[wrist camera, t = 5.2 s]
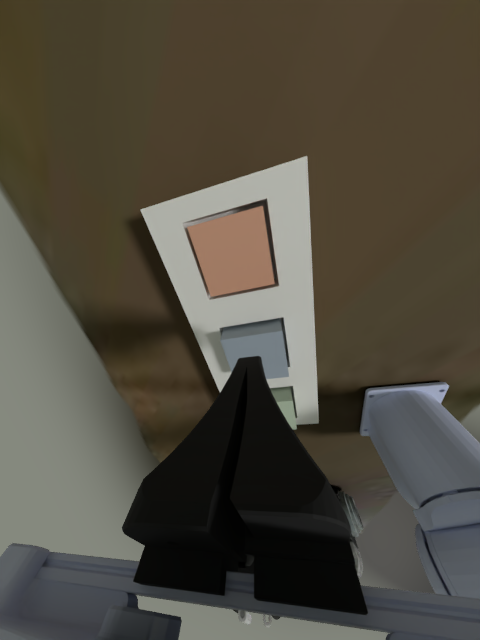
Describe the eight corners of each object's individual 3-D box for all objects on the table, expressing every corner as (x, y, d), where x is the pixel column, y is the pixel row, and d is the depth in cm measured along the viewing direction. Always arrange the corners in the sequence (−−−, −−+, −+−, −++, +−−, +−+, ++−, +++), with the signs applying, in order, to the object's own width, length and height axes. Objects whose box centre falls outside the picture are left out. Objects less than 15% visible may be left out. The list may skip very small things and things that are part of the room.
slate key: (285, 360, 17) (289, 376, 15) (237, 366, 18) (235, 382, 16) (279, 317, 15) (282, 330, 13) (224, 326, 16) (220, 340, 14)
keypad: (312, 401, 23) (318, 423, 20) (237, 407, 25) (235, 428, 22) (296, 168, 12) (307, 155, 9) (161, 211, 13) (140, 209, 11)
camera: (356, 503, 38) (385, 586, 30) (324, 504, 40) (342, 583, 32) (342, 473, 32) (373, 567, 23) (304, 477, 34) (321, 565, 25)
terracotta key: (272, 275, 14) (274, 284, 13) (215, 287, 15) (210, 296, 13) (262, 207, 12) (262, 205, 10) (196, 225, 13) (187, 227, 11)
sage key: (293, 411, 21) (296, 429, 19) (253, 414, 22) (252, 431, 20) (289, 383, 18) (292, 400, 17) (244, 387, 19) (243, 404, 18)
